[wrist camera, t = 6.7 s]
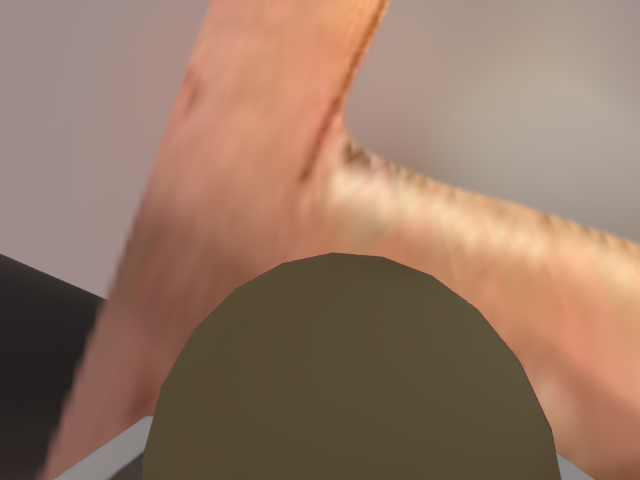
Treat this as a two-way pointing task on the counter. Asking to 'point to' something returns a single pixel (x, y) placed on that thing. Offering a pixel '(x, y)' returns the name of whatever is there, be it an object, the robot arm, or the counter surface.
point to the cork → (347, 384)
